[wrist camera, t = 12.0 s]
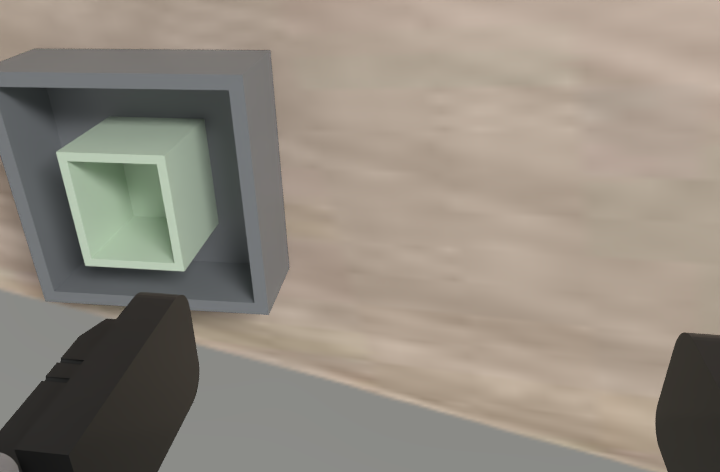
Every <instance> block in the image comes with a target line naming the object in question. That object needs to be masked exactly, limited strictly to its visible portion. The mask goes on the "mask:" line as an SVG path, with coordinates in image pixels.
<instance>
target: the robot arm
mask: <svg viewBox="0 0 720 472" xmlns="http://www.w3.org/2000/svg"><path fill="white" fill-rule="evenodd" d="M198 382H199V362H198V356H197V350H196V343H195V337H194V331H193V324H192V318H191V312H190V306H189V302H188V300H187V298H186V297H185V296H184V295H177V294H163V293H150V292H139V293H138V294H136V295H135V296H134V297H133V299H132V300H131V301H130V303H129V304H128V305H127V306H126V308H125V309H124V310H123V311H122V313H121V314H120V315H119V317H118V318H117V319H105V320H104V321H102V322H101V323H99V324H97V325H96V326H94V327H93V328H92V329H90V330H89V331H87V332H85V333H84V334H82V335H81V336H79V337H78V338H77V340H76V341H75V342H74V343H73V344H72V346H71V347H70V348H69V349H68V351H67V352H66V353H65V354H64V355H63V357H62V358H61V362H60V363H56V365H55V366H54V367H53V368H52V369H51V371H50V372H49V373H48V374H47V375H46V380H45V381H41V383H40V384H39V385H38V386H37V387H36V389H35V390H34V391H33V392H32V393H31V395H30V396H29V397H28V398H27V399H26V400H25V402H24V403H23V404H22V405H21V406H20V408H19V409H18V410H17V411H16V412H15V414H14V415H13V416H12V417H11V418H10V420H9V421H8V422H7V423H6V424H5V426H4V427H3V428H2V429H1V430H0V472H158V470H159V468H160V466H161V464H162V462H163V460H164V458H165V456H166V454H167V452H168V450H169V448H170V446H171V445H172V442H173V441H174V438H175V437H176V435H177V433H178V431H179V429H180V427H181V425H182V423H183V421H184V419H185V417H186V415H187V413H188V411H189V409H190V407H191V405H192V403H193V401H194V399H195V396H196V392H197V388H198ZM656 436H657V441H658V445H659V449H660V451H661V454H662V457H663V460H664V463H665V465H666V468H667V471H668V472H720V335H710V334H696V333H682V334H681V335H680V336H679V337H678V339H677V341H676V343H675V346H674V350H673V353H672V357H671V360H670V364H669V367H668V370H667V374H666V377H665V381H664V384H663V388H662V391H661V395H660V398H659V401H658V405H657V410H656Z"/></svg>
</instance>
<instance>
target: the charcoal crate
mask: <svg viewBox="0 0 720 472" xmlns="http://www.w3.org/2000/svg"><path fill="white" fill-rule="evenodd" d="M110 116H111V117H150V118H188V119H204V120H205V127H206V134H207V142H208V149H209V156H210V164H211V171H212V178H213V185H214V193H215V200H216V207H217V214H218V222H219V223H218V225H217V226H216V228H215V229H214V230H213V232H212V233H211V235H210V236H209V238H208V239H207V240H206V242H205V243H204V245H203V246H202V247H201V249H200V250H199V252H198V253H197V254H196V256H195V257H194V259H193V260H192V262H191V263H190V264H189V266H188V267H187V269H186V270H185V271H168V270H150V269H133V268H115V267H98V266H85V263H84V259H83V255H82V251H81V247H80V243H79V240H78V236H77V232H76V228H75V224H74V220H73V216H72V212H71V209H70V205H69V201H68V197H67V193H66V189H65V185H64V182H63V178H62V174H61V170H60V166H59V162H58V158H57V155H56V152H57V151H58V150H60V149H61V148H63V147H64V146H66V145H67V144H69V143H70V142H72V141H73V140H75V139H76V138H78V137H79V136H81V135H82V134H84V133H85V132H87V131H88V130H90V129H91V128H93V127H94V126H96V125H97V124H99V123H100V122H102V121H103V120H105V119H107V118H108V117H110ZM0 155H1V159H2V162H3V165H4V168H5V171H6V175H7V178H8V181H9V184H10V188H11V191H12V194H13V197H14V201H15V204H16V207H17V210H18V214H19V217H20V220H21V223H22V227H23V230H24V233H25V236H26V240H27V243H28V246H29V249H30V253H31V256H32V259H33V262H34V266H35V269H36V272H37V275H38V278H39V282H40V285H41V288H42V291H43V295H44V298H45V301H49V302H65V303H82V304H98V305H115V306H127V305H128V304H129V303H130V301H131V300H132V299H133V297H134V296H135V295H136V294H138V293H139V292H150V293H163V294H177V295H184V296H185V297H186V298H187V300H188V302H189V306H190V310H198V311H214V312H231V313H247V314H264V315H269V313H270V311H271V309H272V306H273V304H274V302H275V299H276V297H277V295H278V293H279V290H280V288H281V286H282V284H283V281H284V279H285V277H286V274H287V272H288V270H289V258H288V247H287V235H286V224H285V212H284V201H283V189H282V178H281V167H280V155H279V144H278V132H277V121H276V109H275V98H274V87H273V75H272V64H271V52H270V50H158V49H32V50H30V51H27V52H25V53H22V54H19V55H17V56H14V57H11V58H9V59H6V60H4V61H1V62H0Z"/></svg>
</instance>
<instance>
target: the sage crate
mask: <svg viewBox="0 0 720 472" xmlns="http://www.w3.org/2000/svg"><path fill="white" fill-rule="evenodd" d="M56 155H57V158H58V162H59V166H60V170H61V174H62V178H63V182H64V185H65V189H66V193H67V197H68V201H69V205H70V209H71V212H72V216H73V220H74V224H75V228H76V232H77V236H78V240H79V243H80V247H81V251H82V255H83V259H84V263H85V266H98V267H115V268H133V269H150V270H168V271H185V270H186V269H187V267H188V266H189V264H190V263H191V262H192V260H193V259H194V257H195V256H196V254H197V253H198V252H199V250H200V249H201V247H202V246H203V245H204V243H205V242H206V240H207V239H208V238H209V236H210V235H211V233H212V232H213V230H214V229H215V228H216V226H217V225H218V223H219V222H218V214H217V207H216V200H215V193H214V185H213V178H212V171H211V164H210V156H209V149H208V142H207V134H206V127H205V120H204V119H188V118H150V117H111V116H110V117H108V118H107V119H105V120H103V121H102V122H100V123H99V124H97V125H96V126H94V127H93V128H91V129H90V130H88V131H87V132H85V133H84V134H82V135H81V136H79V137H78V138H76V139H75V140H73V141H72V142H70V143H69V144H67V145H66V146H64V147H63V148H61V149H60V150H58V151H57V152H56Z"/></svg>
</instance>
